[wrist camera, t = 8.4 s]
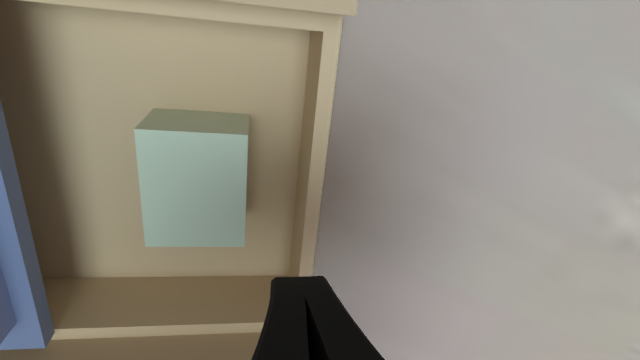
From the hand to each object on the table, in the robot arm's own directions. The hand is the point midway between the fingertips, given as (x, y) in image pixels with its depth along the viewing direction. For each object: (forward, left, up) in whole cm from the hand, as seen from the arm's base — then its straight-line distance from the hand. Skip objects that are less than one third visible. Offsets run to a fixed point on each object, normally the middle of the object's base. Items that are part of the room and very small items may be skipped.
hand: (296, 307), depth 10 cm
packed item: (0, +3, -9) cm, 10 cm away
